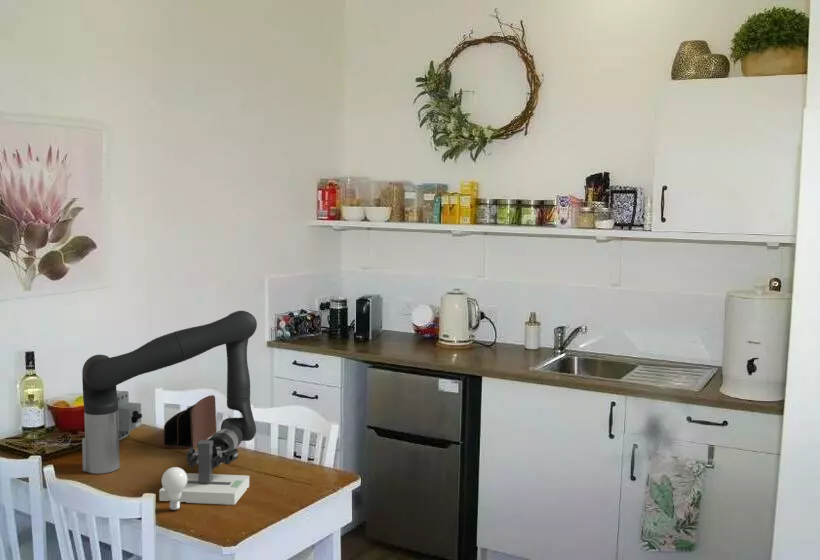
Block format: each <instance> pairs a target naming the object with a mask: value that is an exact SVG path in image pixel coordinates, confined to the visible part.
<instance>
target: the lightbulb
mask: <svg viewBox="0 0 820 560" xmlns="http://www.w3.org/2000/svg"><path fill="white" fill-rule="evenodd" d="M186 473H187V472H186V471H185V470H184V469H183V468H181V467H180V466H179V467H177V466H172V467H170V468H168V469H166V470H165V471H164V472H163V474H162V476H161V482H160V483H161V486H162V487H163V488H164V489H165V490H166V492H167V494H168V498H169V501H170V502H168V503H169V509H170V510H172V511H177V510H179V509H180V508H181V502H180V498H181V495H182V491H183V489H184V488H185V486H186V484H187V480H188V478H187V474H186Z"/></svg>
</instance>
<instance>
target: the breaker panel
mask: <svg viewBox="0 0 820 560" xmlns="http://www.w3.org/2000/svg"><path fill="white" fill-rule="evenodd" d="M186 474H187V478H188V480H187V484H186V486H185V488H184V489H183V491H182V495H181V498H180V503H181V502H186V504H187V503H188V504H207V505H208V504H209V505H225V506H226V505H228V506H229V505H231V506H232V505H233V506H235V505H236V504H237V502H239V500H240V499H241V498H242V496H244V495H245V492H246V491H247V490H248V489H249V487H250V475H241V474H219V473H217V474H216V473H212V475H213V480H212V481H211V482H210V483H198V472H197V473H196V472H194V473H192V472H191V473H190V472H189V473H188V472H186ZM247 488H248V489H247ZM158 493H159V495H158V496H159V501H169V498H168V494H167V492H166V490H165V489H164V488H163V486H162V487H161V488H160V489H159V490H158Z"/></svg>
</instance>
